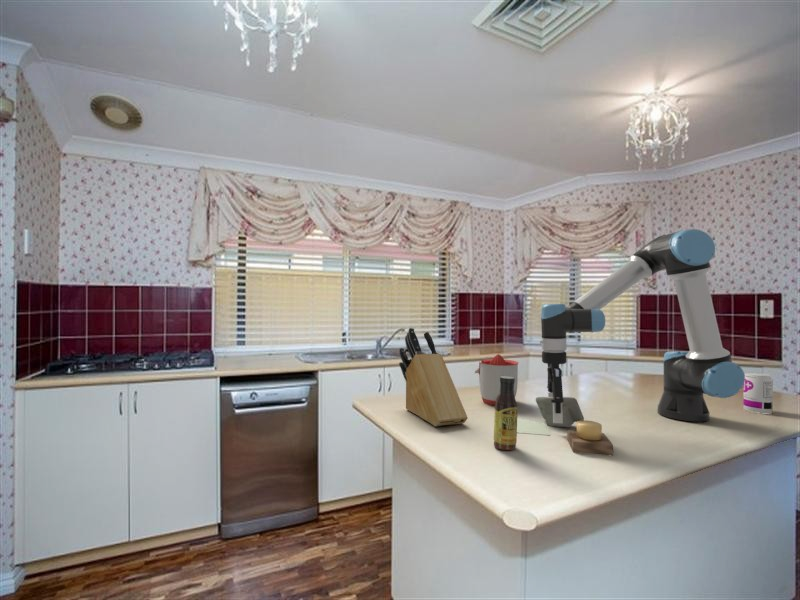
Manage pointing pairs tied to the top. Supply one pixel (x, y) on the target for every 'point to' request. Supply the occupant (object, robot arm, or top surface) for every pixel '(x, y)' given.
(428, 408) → the knife block
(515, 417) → the sauce bottle
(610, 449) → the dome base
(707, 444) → the top surface
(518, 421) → the pad
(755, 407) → the supplement can
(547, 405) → the digital clock
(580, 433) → the yellow rounded cube
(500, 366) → the citrus juicer
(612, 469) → the top surface
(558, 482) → the top surface
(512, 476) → the top surface
